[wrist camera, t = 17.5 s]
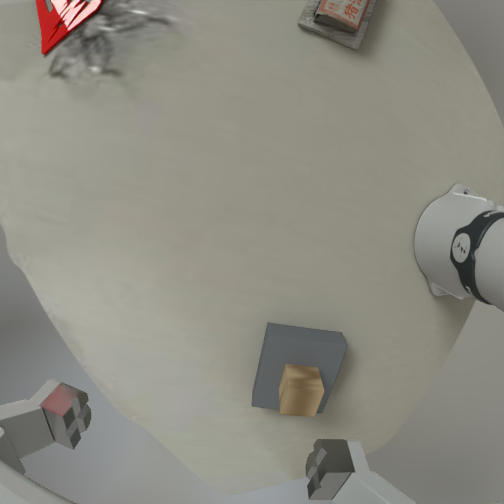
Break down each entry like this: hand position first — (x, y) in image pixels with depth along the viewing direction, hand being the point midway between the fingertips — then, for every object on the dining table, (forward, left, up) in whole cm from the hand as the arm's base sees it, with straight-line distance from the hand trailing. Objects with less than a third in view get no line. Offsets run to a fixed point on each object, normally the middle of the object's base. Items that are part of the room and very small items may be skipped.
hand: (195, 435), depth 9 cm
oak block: (-11, +19, -31) cm, 38 cm away
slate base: (-11, +19, -35) cm, 41 cm away
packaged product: (-8, -42, -36) cm, 55 cm away
